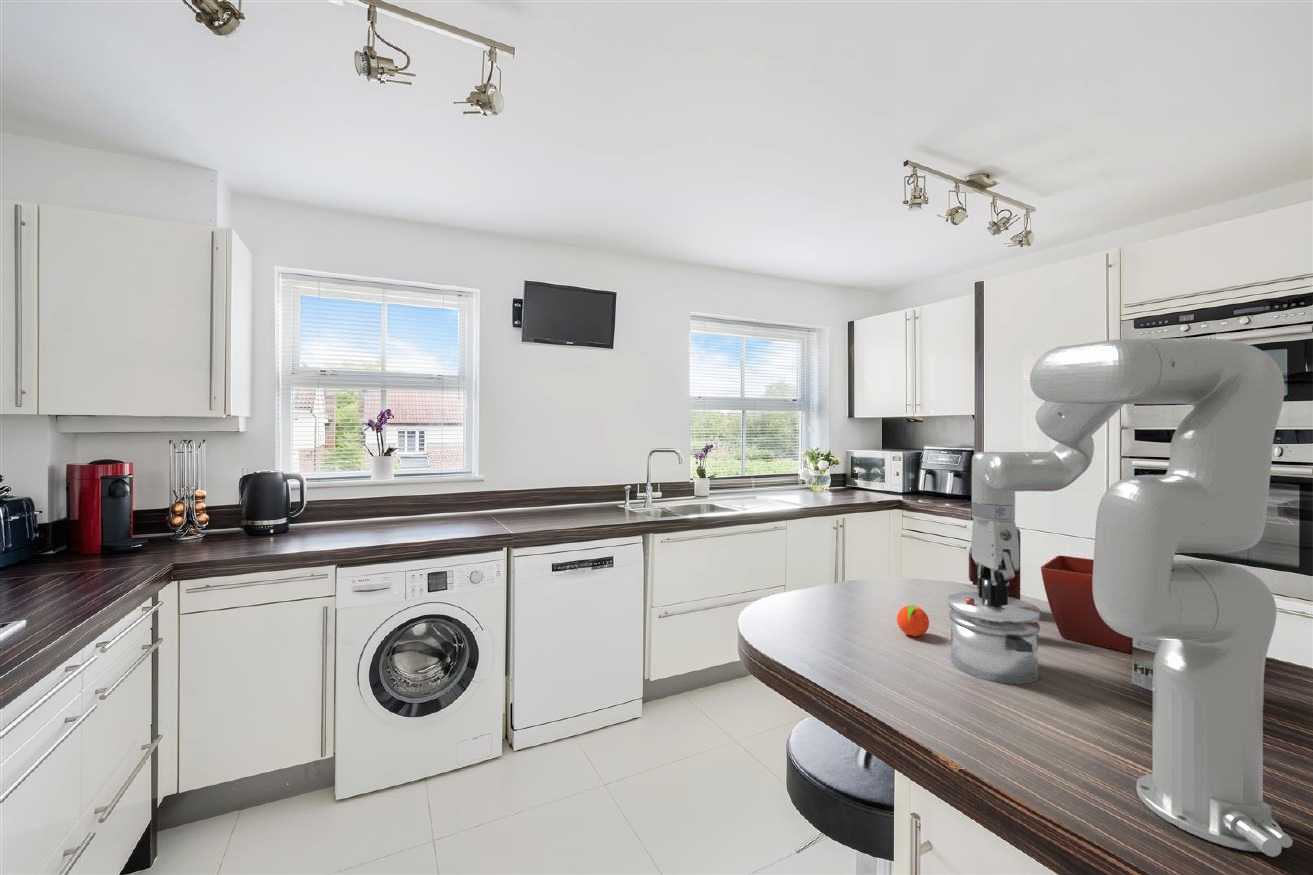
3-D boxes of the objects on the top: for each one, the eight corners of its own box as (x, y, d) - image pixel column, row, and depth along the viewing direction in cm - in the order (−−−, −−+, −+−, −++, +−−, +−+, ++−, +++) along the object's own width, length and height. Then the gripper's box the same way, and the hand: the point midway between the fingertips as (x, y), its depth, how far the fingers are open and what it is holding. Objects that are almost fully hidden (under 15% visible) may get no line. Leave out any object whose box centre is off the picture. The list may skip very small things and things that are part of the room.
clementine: (925, 644, 120) (925, 613, 119) (892, 637, 124) (892, 607, 124) (931, 634, 126) (931, 604, 126) (900, 627, 130) (900, 599, 130)
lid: (1061, 623, 100) (1061, 591, 100) (976, 623, 100) (976, 590, 100) (1006, 597, 116) (1006, 569, 116) (933, 597, 116) (933, 569, 116)
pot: (1070, 695, 96) (1070, 640, 96) (979, 690, 98) (979, 637, 98) (1003, 647, 118) (1003, 602, 118) (930, 644, 120) (930, 600, 120)
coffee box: (1171, 699, 95) (1171, 610, 95) (1130, 683, 101) (1130, 599, 101) (1206, 693, 97) (1206, 605, 97) (1164, 677, 103) (1164, 595, 103)
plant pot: (1039, 637, 124) (1039, 566, 124) (1058, 619, 137) (1058, 554, 137) (1149, 663, 110) (1150, 583, 110) (1160, 640, 122) (1160, 568, 122)
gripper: (1037, 518, 99) (1037, 615, 99) (991, 506, 116) (990, 590, 116) (995, 517, 100) (994, 614, 100) (955, 506, 116) (954, 588, 117)
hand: (992, 600), depth 108 cm, fingers closed on lid, 3 cm apart
